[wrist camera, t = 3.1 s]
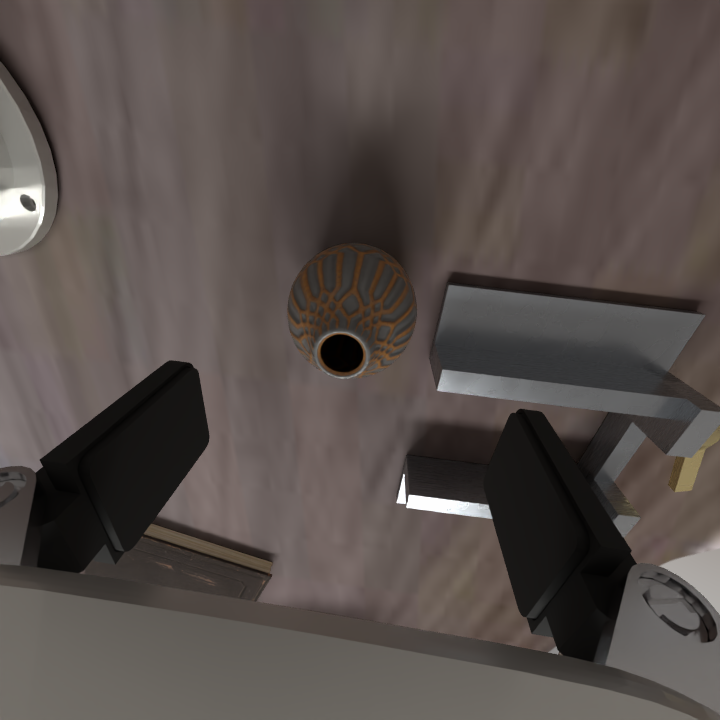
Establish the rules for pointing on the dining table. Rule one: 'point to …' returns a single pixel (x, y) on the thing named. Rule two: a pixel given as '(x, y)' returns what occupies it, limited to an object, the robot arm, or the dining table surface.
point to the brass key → (690, 466)
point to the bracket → (563, 384)
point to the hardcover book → (188, 566)
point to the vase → (352, 310)
